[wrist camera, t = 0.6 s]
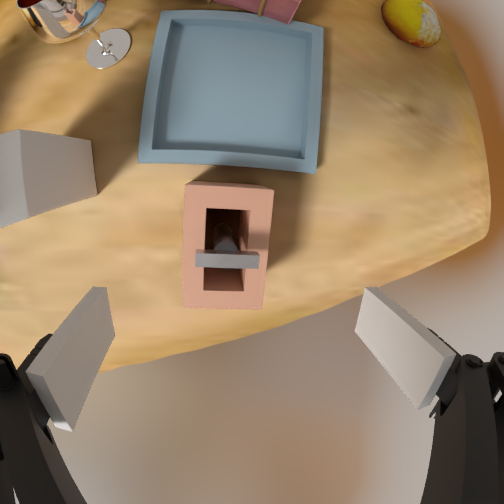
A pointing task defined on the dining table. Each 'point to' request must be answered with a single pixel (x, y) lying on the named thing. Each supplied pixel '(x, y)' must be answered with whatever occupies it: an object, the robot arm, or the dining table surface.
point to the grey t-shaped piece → (226, 252)
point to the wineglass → (76, 27)
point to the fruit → (412, 21)
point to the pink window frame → (250, 239)
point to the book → (266, 7)
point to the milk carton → (42, 173)
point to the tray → (233, 92)
